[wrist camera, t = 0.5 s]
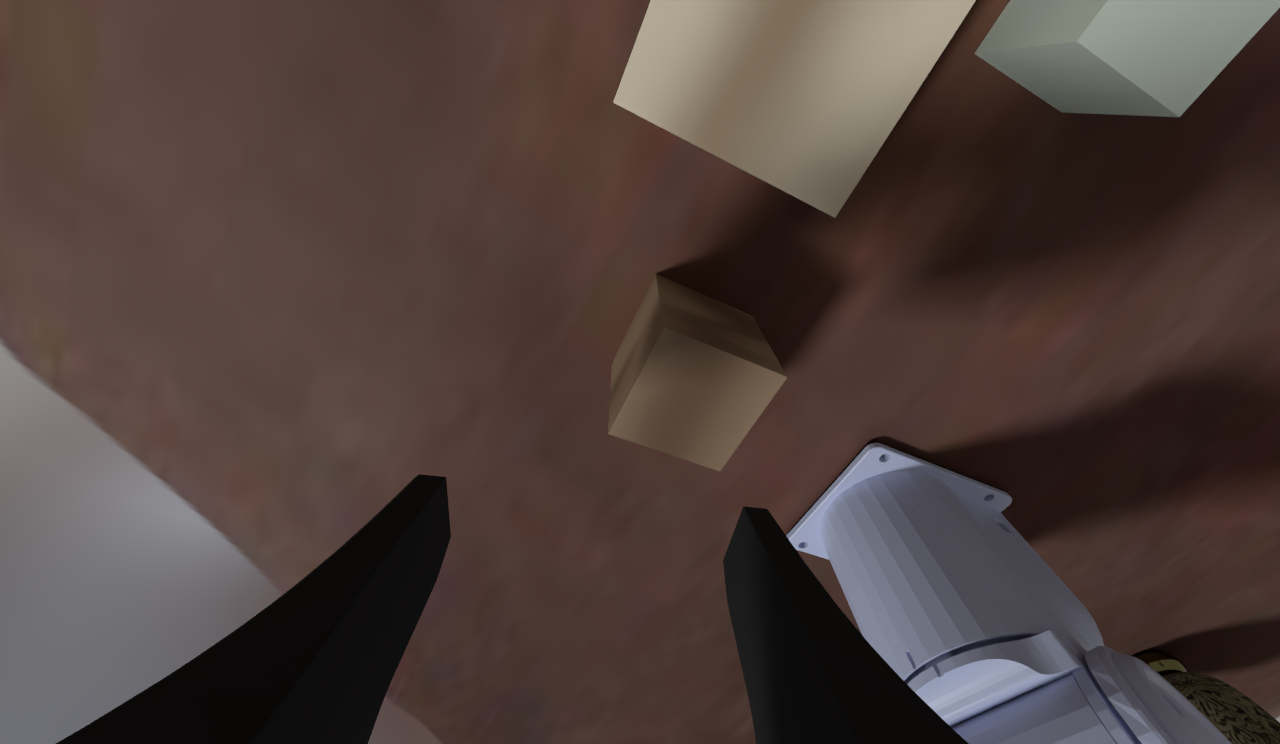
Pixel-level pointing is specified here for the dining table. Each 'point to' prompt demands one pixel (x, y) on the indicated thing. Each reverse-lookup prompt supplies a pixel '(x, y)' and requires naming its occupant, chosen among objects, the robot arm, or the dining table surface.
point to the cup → (1217, 701)
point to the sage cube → (1121, 50)
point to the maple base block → (787, 82)
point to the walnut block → (691, 376)
